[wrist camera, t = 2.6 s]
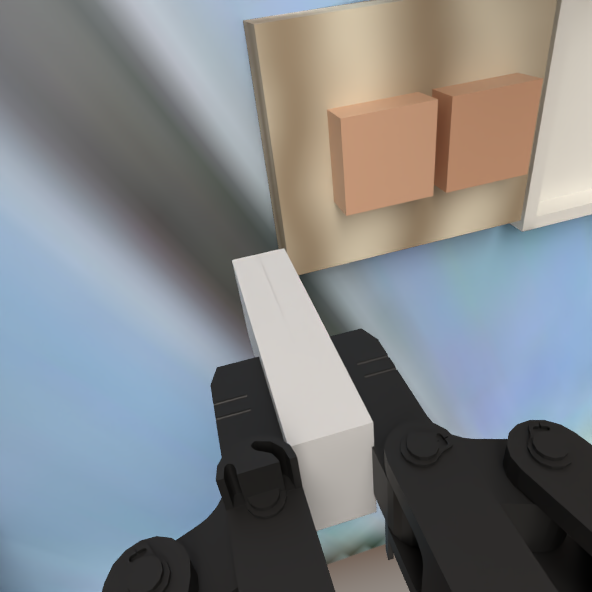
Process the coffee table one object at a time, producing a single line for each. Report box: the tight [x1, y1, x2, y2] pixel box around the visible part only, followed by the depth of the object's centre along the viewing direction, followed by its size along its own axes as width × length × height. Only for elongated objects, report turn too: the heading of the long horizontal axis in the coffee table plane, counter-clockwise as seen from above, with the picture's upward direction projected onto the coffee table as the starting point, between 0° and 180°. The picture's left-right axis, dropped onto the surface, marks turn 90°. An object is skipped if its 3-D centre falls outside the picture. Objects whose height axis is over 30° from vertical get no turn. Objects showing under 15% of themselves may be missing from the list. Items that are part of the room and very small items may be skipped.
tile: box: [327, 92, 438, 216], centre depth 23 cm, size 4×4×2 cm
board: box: [243, 0, 557, 275], centre depth 25 cm, size 14×12×2 cm
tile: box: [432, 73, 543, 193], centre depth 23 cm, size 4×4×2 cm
